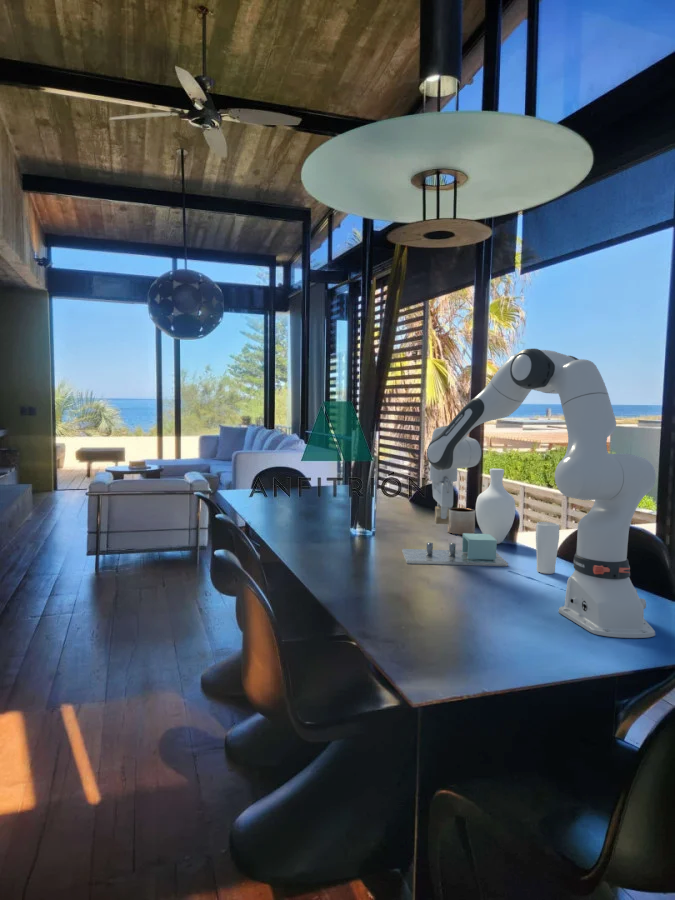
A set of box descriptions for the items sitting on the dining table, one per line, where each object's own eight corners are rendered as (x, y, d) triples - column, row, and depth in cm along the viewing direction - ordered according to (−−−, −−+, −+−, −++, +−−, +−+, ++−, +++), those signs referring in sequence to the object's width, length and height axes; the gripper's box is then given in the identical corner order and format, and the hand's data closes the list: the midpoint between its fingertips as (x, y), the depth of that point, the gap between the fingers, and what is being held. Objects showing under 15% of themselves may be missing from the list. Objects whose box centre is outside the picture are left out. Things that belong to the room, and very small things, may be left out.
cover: (496, 559, 189) (496, 540, 188) (468, 558, 189) (468, 539, 189) (488, 552, 199) (489, 534, 198) (462, 551, 199) (462, 533, 199)
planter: (477, 536, 232) (478, 512, 232) (449, 535, 233) (450, 511, 232) (471, 530, 243) (472, 507, 243) (445, 530, 243) (445, 507, 243)
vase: (499, 538, 229) (502, 467, 227) (522, 546, 215) (525, 470, 214) (467, 540, 224) (469, 467, 223) (488, 548, 211) (491, 470, 209)
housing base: (507, 566, 186) (508, 550, 186) (406, 563, 187) (407, 547, 186) (495, 554, 202) (495, 539, 202) (402, 551, 202) (402, 537, 202)
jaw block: (448, 524, 192) (449, 508, 191) (436, 523, 192) (437, 508, 191) (446, 521, 196) (447, 506, 195) (434, 521, 196) (435, 506, 195)
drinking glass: (559, 576, 176) (561, 526, 175) (535, 574, 177) (537, 525, 176) (555, 570, 182) (557, 522, 181) (532, 568, 184) (534, 521, 183)
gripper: (459, 479, 182) (457, 523, 183) (448, 472, 203) (446, 512, 203) (438, 478, 182) (437, 522, 183) (429, 471, 203) (428, 511, 204)
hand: (441, 516), depth 193 cm, fingers closed on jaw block, 4 cm apart
